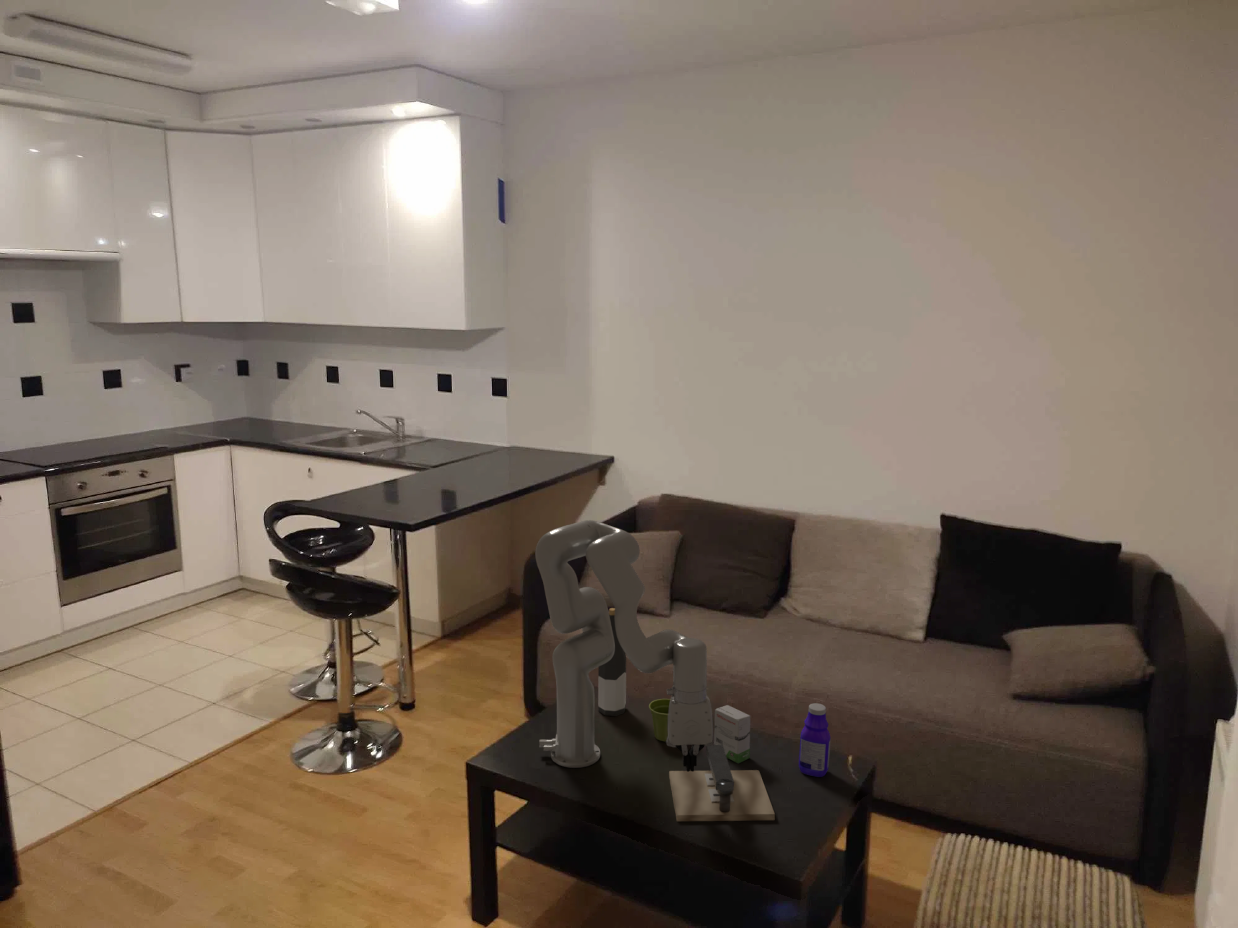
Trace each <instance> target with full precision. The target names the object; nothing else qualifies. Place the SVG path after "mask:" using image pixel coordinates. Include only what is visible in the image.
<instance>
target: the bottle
mask: <svg viewBox="0 0 1238 928" xmlns="http://www.w3.org/2000/svg"><path fill="white" fill-rule="evenodd" d="M826 713H827V707H826V706H825V705H824V704H821V703H810V704H809V705H808V713H807V715H806V718H805V719H804V726H803V728H802V729H801V731H800V736H799V737H800V738H799V741H800V742H799V753H798V755H799V756H798V768H799V771H800V772H801V773H802V774H804V775H807V776H812V777H816V778H823V777H825V776H826V774H827V772H828V771H829V765H830V752H831V751H830V750H831V740H832V739H831V734H830V731H829V730H828V727H829V723H828V720H827V716H826V715H827V714H826Z"/></svg>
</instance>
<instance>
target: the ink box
mask: <svg viewBox="0 0 1238 928" xmlns="http://www.w3.org/2000/svg"><path fill="white" fill-rule="evenodd" d="M713 745H723V747H724V751H725V754H726V757H727V760H728V759H729V760H731V761H732V762H734V763H736V764H740V763H742V762H744V761H746V760H748V759H750V757H751V756H750V755H751V751H750V750H751V748H750V747H751V715H750V714H747V713H746V712H744V711H741V710H739V709H736V708H735V707H733V706H731V705H729V704H726V705H724V706H720V707H717V708H716V709H714V738H713Z"/></svg>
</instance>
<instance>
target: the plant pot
mask: <svg viewBox="0 0 1238 928" xmlns="http://www.w3.org/2000/svg"><path fill="white" fill-rule="evenodd" d="M670 699H671V698H660V699H659V698H658V699H654V700H652V701H651V702H650V703H649V704H648V709H649V711H650V713H651V717H652V725H653V727H652V728H653V734H654V738H655V739H656V740H658V741H661V742H666V740H667V737H668V731H667V723H668V710H669V704H670Z"/></svg>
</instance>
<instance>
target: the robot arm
mask: <svg viewBox="0 0 1238 928" xmlns="http://www.w3.org/2000/svg"><path fill="white" fill-rule="evenodd" d="M638 542H639V541H637V539H636V538H635V537H634V536H633V535H632V534H631V533H629V532H628V531H626V530H623V529H621V528H618V527H614V526H611V525H610V524H609V525H608V524H606V523H603V522H599V521H597V520H591V519H589V520H581V521H579V522H575V523H571V524H567V525H563V526H560V527H557V528H554V529H552V530H549V531H548V532H546V533H545V534H543V535H542V536H541V537H540V538H539V540H538V542H537V544H536V546H535V555H534V557H535V562H536V566H537V568H538V570H539V574H540V576H541V580H542V582H543V583H542V584H543V588H544V594H545V598H546V604H547V608H548V613H549V617H550V622H551V624H552V625H551V626H552V627H553V629H554V630H555V631H556V632H557V633H558V634H562V635H563V634H564V635H565V634H570V633H573V632H576V631H577V632H578V631H579V630H581V631H582V632H580V633H577V634H576V635H573V636H570V637H569V638H566V639H565V640H563V641H561V642H560V643H559V644H558V645H557V646H556V647H555V649H554V650H553V653H552V665H553V671H554V677H555V682H556V734H555V738H551V739H547V738H546V739H539V741H538V742H539V744H538V745H539V748H543V751H544V752H549V751H550V759H551V760H552V761H553V762H554V763H555V764H557V765H559V766H562V767H563V768H564V767H565V768H571V769H572V768H573V769H575V768H576V769H578V768H585V767H589V766H591V765H594V764H595V763H596V762H598V761H599V760H600V759H601V750H600V748H599V746H598V745H596V743H595V701H596V700H595V687H594V684H593V682H592V680H591V678H590V675H589V674H590V672H592V671H594V669H597V668H598V667H599V666H601V665H603V664H605V663H607V662H608V661H610V660H611V658H612V657H613V655H614V651H615V643H614V637H613V632H612V627H611V622H610V617H609V609H608V604H607V601H606V599H605V598H604V597H605V596H603V594H602V593H601V592H600V590H598V589H596V588H595V587H591V586H585V587H584V586H583V587H580V586H579V581H578V577H577V574H576V572H575V570H574V568H573V567H572V566H571V565H570V564H569V563H568V562H569V561H572V560H576V559H578V558H579V559H580V558H582V557H585V558H586V562H587V563H588V566H589V567H590V568H591V570H592V573H594V575H595V576H596V579H597V581H599V583H600V585H601V586H602V588H603V590H604V591H605V593H606V594H607V597H608V598H609V599H610V602H612V604H613V606H614V607H613V608H615V628H616V634H617V638H618V641H619V643H620V645H621V647H622V648H623V650H624V652H625V654H626V658H627V659H628V660H629V661H630V663H631V664H632V665H633V666H634V668H635V669H637V670H638V671H639V672H641V673H644V674H653V673H655V672H657V671H659V670H661V669H663V668H665V667H666V666H669V665H672V667H673V668H672V670H673V671H672V672H673V674H672V675H673V678H672V679H673V680H672V681H673V682H672V686H671V688H666V694H667V696H671V697H670V698H669V699H670V704H669V710H668V723H667V731H668V737H667V740H666V741H665V743H666V746H667V747H672V748H676V749H677V750H678V751H680V752H681V753H682V765H683V767H685V769H686V770H685V771H687V772H689V771H692V772H694V771H695V767H697V762H698V761H697V758H698V757H697V756H698V754H699V752H701V750H702V749H703V748H705V747H706V746H709V745H714V725H713V724H714V723H713V722H714V721H713V709H712V703H711V701H710V700H711V699H710V698H709V696H708V695H707V687H708V686H707V684H708V683H707V677H708V676H707V675H708V674H707V670H708V669H707V668H708V667H707V663H708V662H707V661H708V659H707V657H708V656H707V651H708V650H707V649H708V648H707V645H706V643H705V642H704V641H703V640H701V639H699V638H695V637H688V636H686V635H684V634H682V633H680V632H678V631H676V630H674V629H663V630H661V631H659V632H656V633H654V634H652V635H650V636H647V637H646V635H645V633H644V632H643V630H642V629H641V627H640V625H639V622H638V613H637V611H638V608H639V607H638V606H639V604H640V601H641V599H642V598H643V596H644V594H645V593H646V586H645V585H644V582H643V581H642V579H641V578H640V577H639V575H638V573H637V571H636V570H635V569H634V567H633V565H632V564H634V563H635V562H637V560H638V559H639V556H640V551H641V550H640V544H639V543H638ZM688 746H691V748H690V749H689V748H688Z"/></svg>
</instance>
